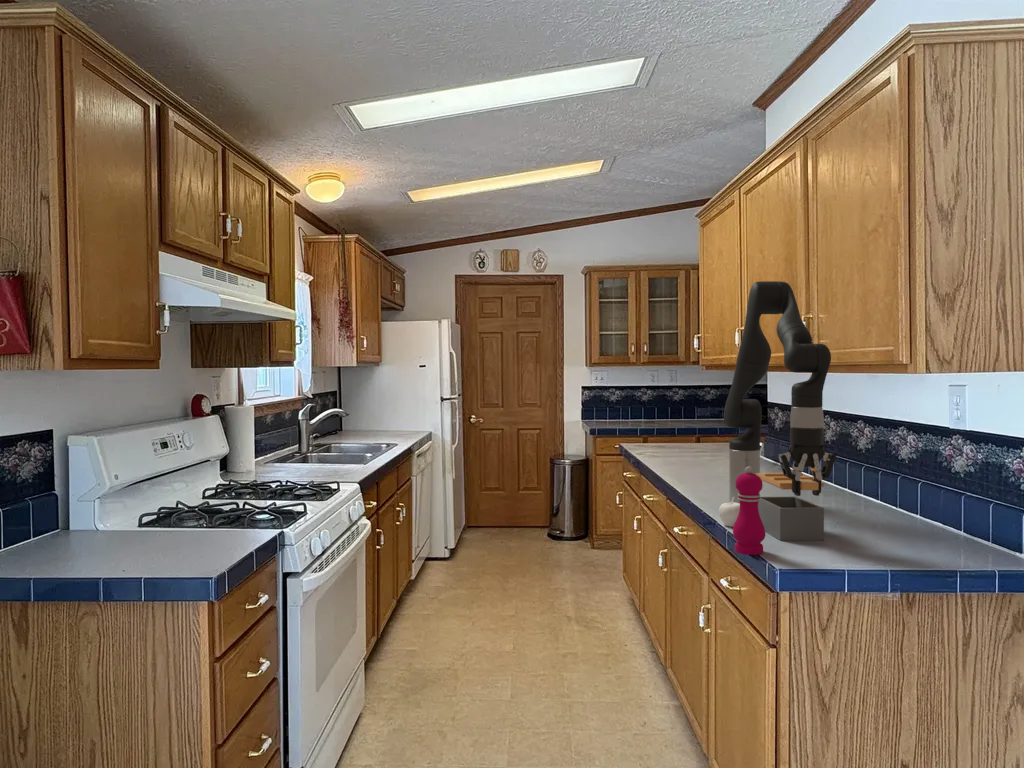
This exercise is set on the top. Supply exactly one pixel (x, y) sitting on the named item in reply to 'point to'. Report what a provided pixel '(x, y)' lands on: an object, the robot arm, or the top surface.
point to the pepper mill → (749, 515)
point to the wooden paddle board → (788, 481)
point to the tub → (791, 518)
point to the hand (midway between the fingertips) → (806, 494)
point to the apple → (729, 512)
